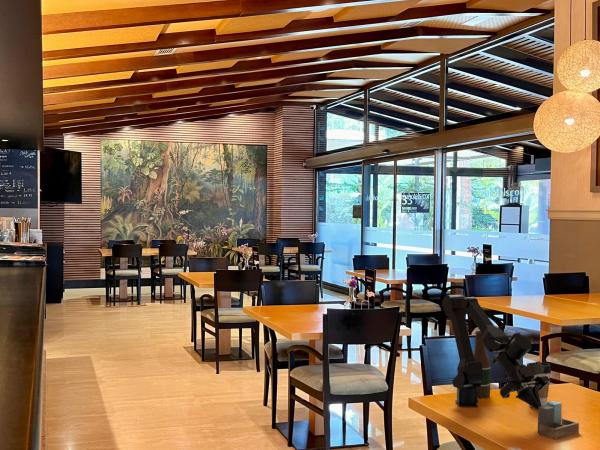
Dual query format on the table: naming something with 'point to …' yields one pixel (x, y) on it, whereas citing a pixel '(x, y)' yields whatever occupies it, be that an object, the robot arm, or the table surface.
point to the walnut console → (560, 429)
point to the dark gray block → (545, 416)
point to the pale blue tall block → (556, 410)
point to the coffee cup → (544, 391)
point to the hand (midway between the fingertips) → (540, 410)
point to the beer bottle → (486, 366)
